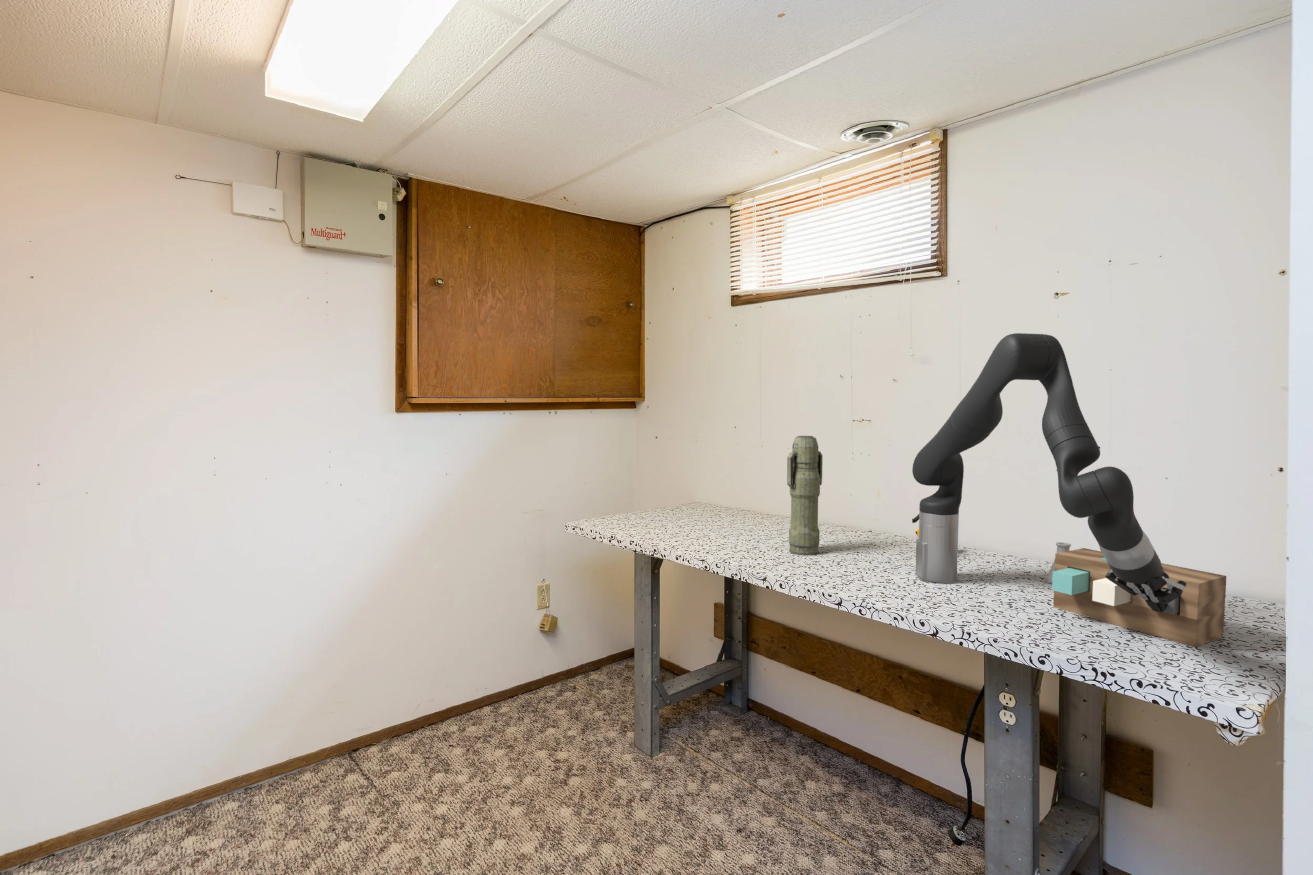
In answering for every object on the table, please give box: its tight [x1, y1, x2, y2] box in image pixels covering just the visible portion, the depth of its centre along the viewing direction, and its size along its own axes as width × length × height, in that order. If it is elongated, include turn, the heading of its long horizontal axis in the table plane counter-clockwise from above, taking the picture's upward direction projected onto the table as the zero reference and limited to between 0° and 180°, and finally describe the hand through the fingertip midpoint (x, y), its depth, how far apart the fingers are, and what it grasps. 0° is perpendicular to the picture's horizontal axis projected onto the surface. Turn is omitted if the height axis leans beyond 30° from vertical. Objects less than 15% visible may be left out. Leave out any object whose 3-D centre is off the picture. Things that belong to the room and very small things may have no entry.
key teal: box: [1051, 567, 1090, 595], centre depth 136 cm, size 10×4×4 cm, turn 118°
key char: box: [1150, 587, 1181, 614], centre depth 124 cm, size 10×4×4 cm, turn 118°
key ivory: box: [1092, 578, 1132, 606], centre depth 129 cm, size 10×4×4 cm, turn 118°
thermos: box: [786, 435, 823, 556], centre depth 191 cm, size 9×12×35 cm
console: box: [1052, 547, 1227, 648], centre depth 132 cm, size 11×26×12 cm, turn 28°
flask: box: [1044, 541, 1072, 584], centre depth 160 cm, size 7×7×10 cm
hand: (1159, 607), depth 122 cm, fingers closed
